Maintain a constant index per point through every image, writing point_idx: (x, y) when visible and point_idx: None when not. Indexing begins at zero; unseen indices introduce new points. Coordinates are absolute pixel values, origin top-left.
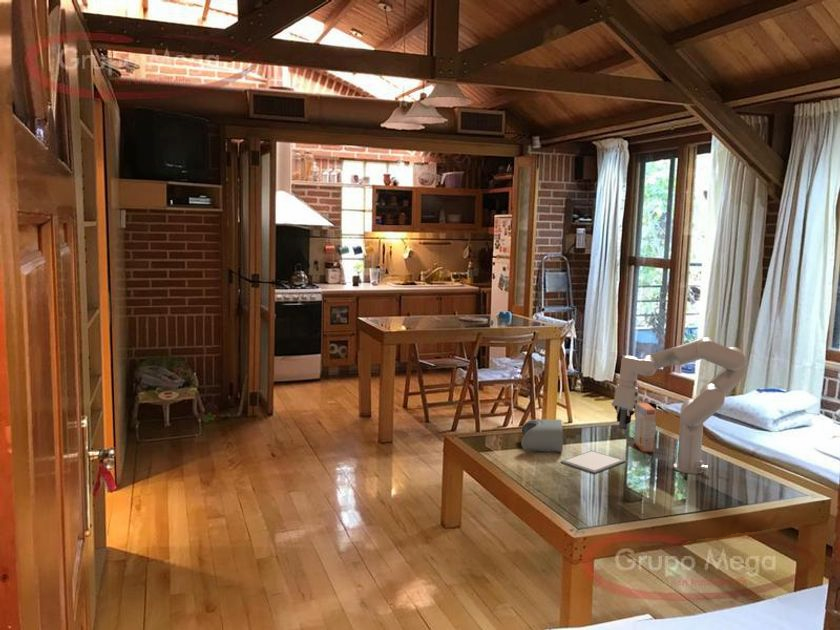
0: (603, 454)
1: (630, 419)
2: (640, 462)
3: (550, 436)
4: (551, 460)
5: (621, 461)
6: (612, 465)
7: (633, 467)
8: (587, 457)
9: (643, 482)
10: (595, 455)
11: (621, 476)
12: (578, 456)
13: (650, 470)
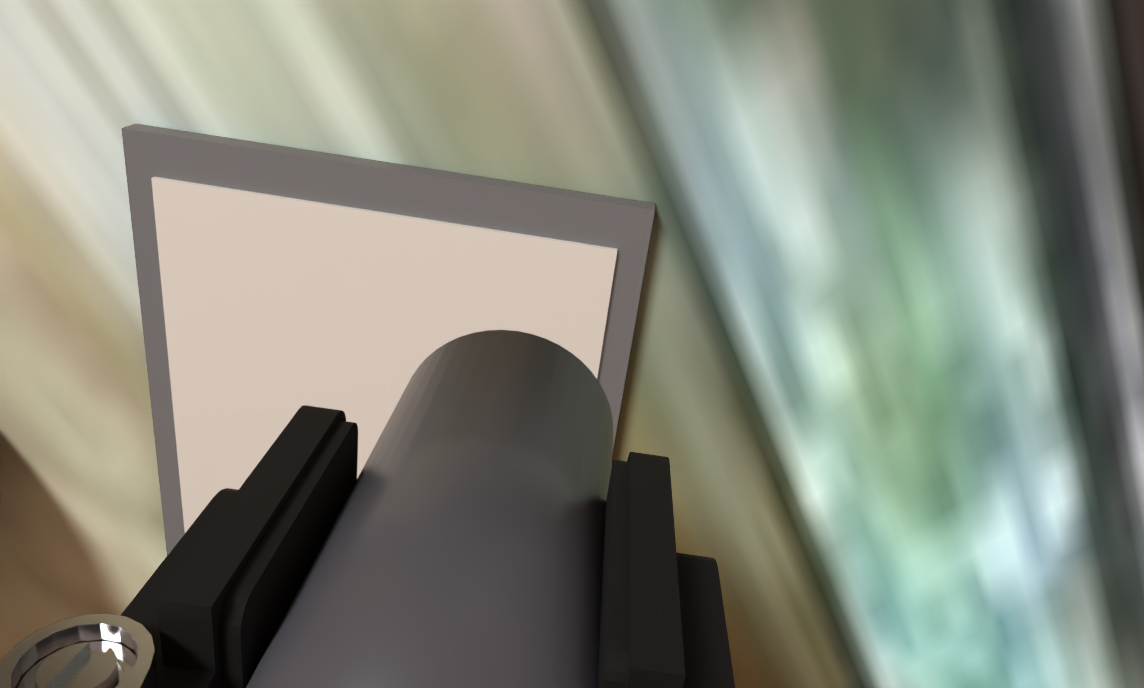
0: (323, 178)
1: (718, 641)
2: (833, 54)
3: None
4: None
5: (632, 281)
6: None
7: (816, 315)
8: (274, 428)
9: (1045, 653)
10: (289, 305)
11: (799, 633)
12: (191, 458)
13: (1042, 278)
